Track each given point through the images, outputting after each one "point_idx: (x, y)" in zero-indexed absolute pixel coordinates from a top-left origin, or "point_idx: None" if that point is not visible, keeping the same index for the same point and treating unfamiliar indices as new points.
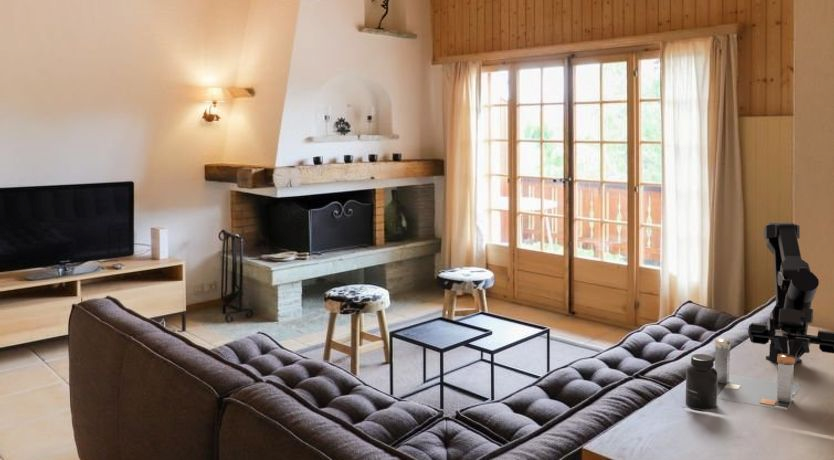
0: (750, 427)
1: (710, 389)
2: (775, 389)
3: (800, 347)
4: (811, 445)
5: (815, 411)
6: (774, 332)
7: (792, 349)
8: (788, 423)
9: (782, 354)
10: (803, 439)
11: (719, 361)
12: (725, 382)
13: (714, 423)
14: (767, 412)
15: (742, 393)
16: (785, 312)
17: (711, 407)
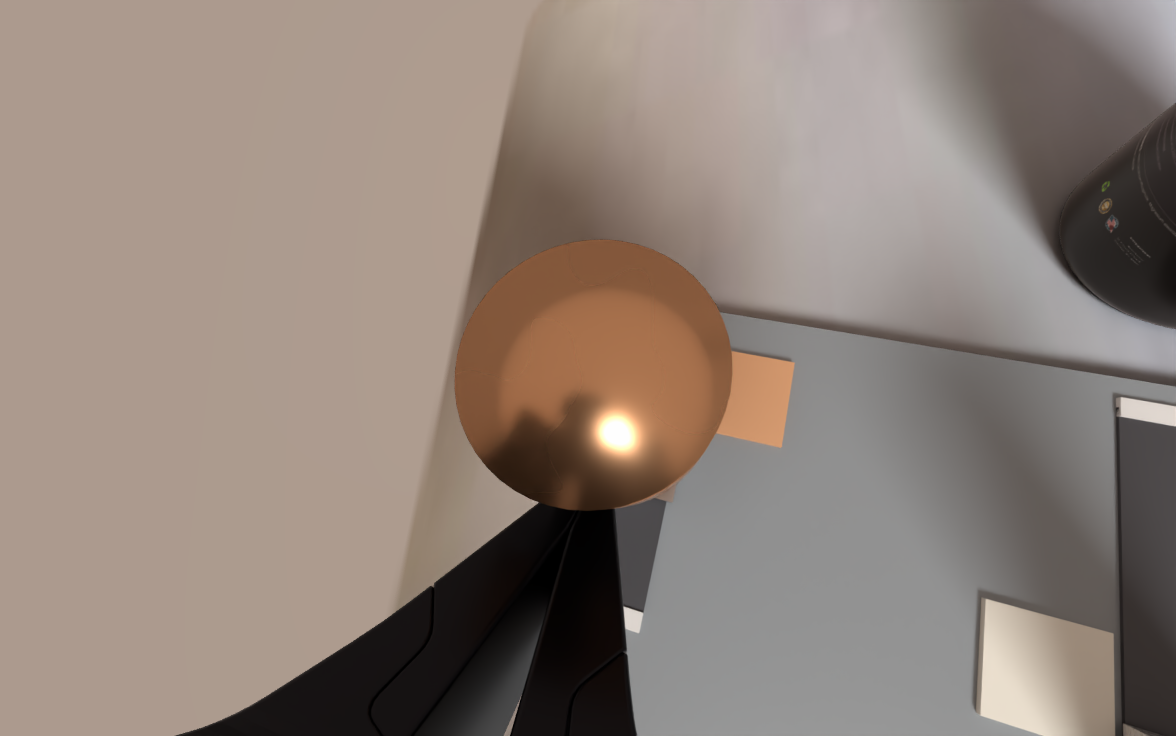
0: (817, 79)
1: None
2: (691, 685)
3: (222, 727)
4: (574, 23)
5: None
6: None
7: (416, 701)
8: (642, 184)
9: (642, 421)
10: (596, 58)
11: None
12: (1147, 733)
13: (1005, 54)
14: (741, 284)
15: (932, 522)
16: None
17: (1091, 173)
